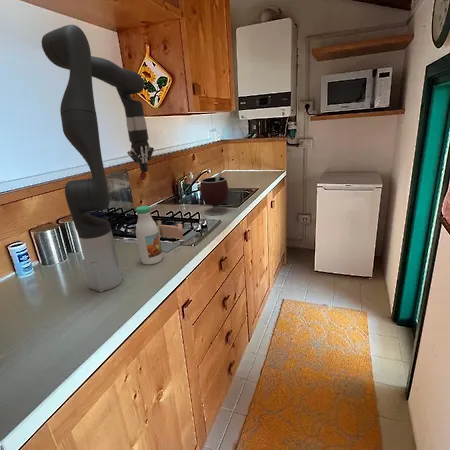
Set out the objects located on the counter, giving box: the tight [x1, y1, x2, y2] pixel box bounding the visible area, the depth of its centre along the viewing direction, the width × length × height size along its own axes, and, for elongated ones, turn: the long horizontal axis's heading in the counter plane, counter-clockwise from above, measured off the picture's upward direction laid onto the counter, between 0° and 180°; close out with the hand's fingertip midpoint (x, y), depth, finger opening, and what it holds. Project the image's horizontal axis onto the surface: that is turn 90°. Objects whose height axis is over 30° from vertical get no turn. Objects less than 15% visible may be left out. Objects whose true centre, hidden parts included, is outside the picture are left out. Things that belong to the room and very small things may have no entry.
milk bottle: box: [135, 205, 164, 265], centre depth 105 cm, size 8×8×20 cm
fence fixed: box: [156, 220, 163, 237], centre depth 123 cm, size 12×2×7 cm, turn 148°
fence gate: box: [161, 223, 184, 240], centre depth 125 cm, size 10×2×6 cm, turn 62°
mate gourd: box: [200, 170, 229, 217], centre depth 153 cm, size 16×14×20 cm
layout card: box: [160, 227, 202, 254], centre depth 126 cm, size 22×16×1 cm
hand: (144, 172), depth 127 cm, fingers closed
